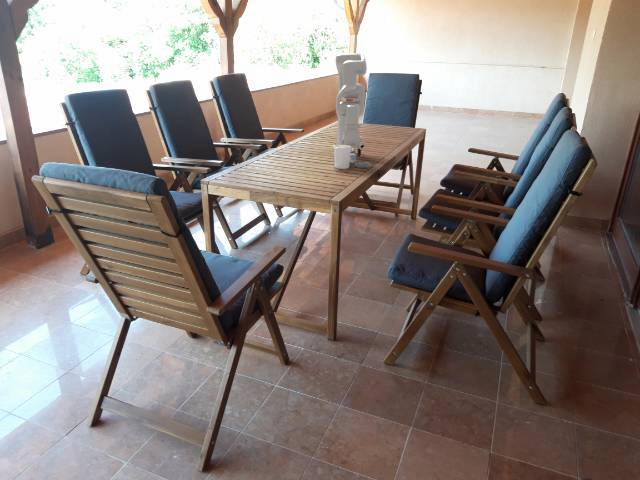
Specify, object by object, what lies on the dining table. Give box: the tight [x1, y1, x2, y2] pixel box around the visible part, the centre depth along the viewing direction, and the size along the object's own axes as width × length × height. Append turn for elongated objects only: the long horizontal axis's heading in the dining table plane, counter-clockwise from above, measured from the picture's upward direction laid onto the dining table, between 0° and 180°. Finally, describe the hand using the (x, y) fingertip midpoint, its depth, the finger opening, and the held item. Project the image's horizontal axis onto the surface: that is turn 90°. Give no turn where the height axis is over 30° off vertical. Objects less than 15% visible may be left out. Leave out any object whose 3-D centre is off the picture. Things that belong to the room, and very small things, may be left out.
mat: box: [352, 161, 374, 169], centre depth 280 cm, size 10×9×1 cm
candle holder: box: [333, 144, 352, 170], centre depth 273 cm, size 10×10×12 cm
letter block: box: [350, 152, 357, 164], centre depth 286 cm, size 5×5×5 cm
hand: (350, 156), depth 285 cm, fingers open, 9 cm apart
